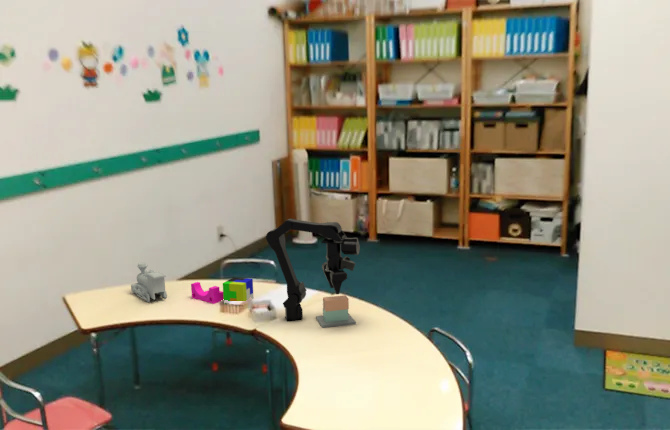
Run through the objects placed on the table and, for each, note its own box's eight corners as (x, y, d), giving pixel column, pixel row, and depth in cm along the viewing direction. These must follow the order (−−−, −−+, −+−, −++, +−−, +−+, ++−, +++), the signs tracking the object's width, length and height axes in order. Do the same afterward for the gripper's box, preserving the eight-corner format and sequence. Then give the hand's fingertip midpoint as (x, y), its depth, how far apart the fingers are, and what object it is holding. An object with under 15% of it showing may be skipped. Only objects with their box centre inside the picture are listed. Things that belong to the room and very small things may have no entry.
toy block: (224, 301, 290) (223, 285, 288) (214, 304, 285) (213, 288, 283) (202, 295, 299) (201, 280, 297) (192, 299, 294) (191, 283, 292)
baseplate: (322, 328, 251) (322, 325, 251) (315, 318, 262) (315, 316, 262) (355, 324, 254) (355, 321, 254) (348, 314, 266) (348, 312, 266)
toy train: (150, 288, 312) (148, 259, 310) (173, 301, 291) (171, 269, 288) (128, 293, 306) (126, 263, 303) (150, 306, 284) (147, 274, 282)
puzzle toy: (253, 299, 290) (252, 278, 289) (243, 306, 281) (242, 284, 279) (234, 297, 294) (233, 277, 292) (223, 304, 284) (222, 283, 283)
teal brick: (325, 322, 255) (325, 311, 254) (323, 318, 259) (322, 307, 259) (348, 319, 257) (348, 309, 256) (345, 315, 262) (345, 305, 261)
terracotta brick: (325, 311, 254) (325, 300, 253) (323, 307, 259) (322, 297, 258) (348, 309, 256) (348, 298, 255) (345, 305, 261) (345, 295, 260)
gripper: (359, 257, 246) (360, 295, 249) (347, 247, 264) (347, 283, 267) (331, 259, 244) (332, 298, 246) (321, 249, 262) (322, 285, 264)
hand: (334, 290), depth 256 cm, fingers open, 9 cm apart
